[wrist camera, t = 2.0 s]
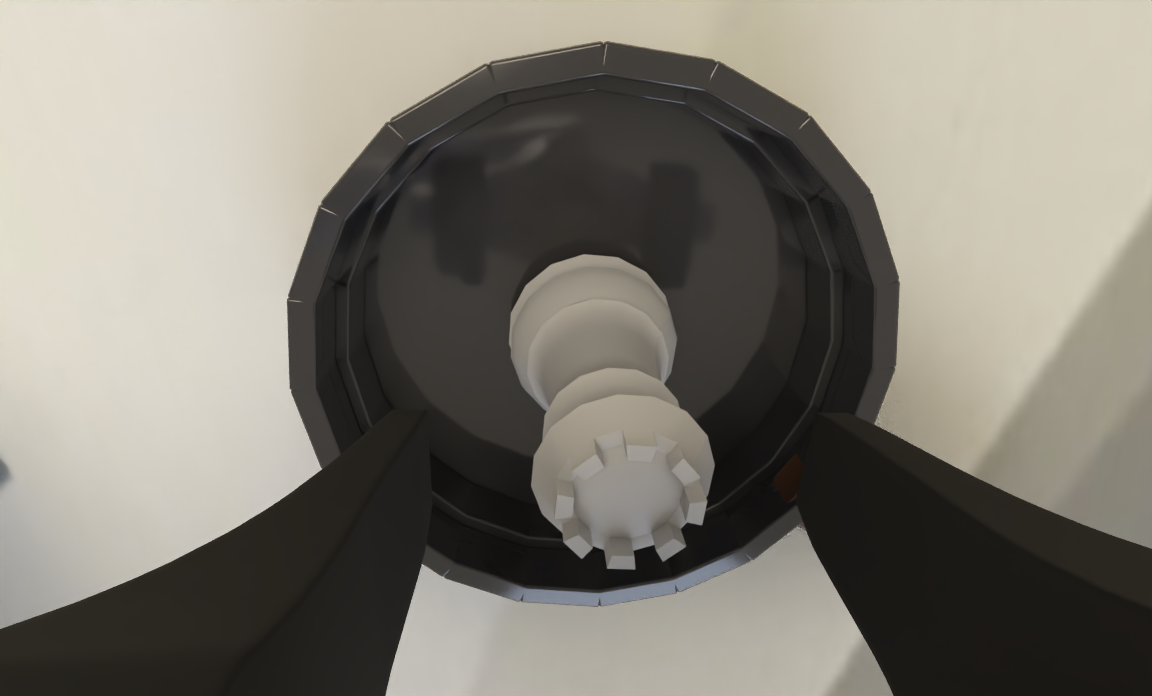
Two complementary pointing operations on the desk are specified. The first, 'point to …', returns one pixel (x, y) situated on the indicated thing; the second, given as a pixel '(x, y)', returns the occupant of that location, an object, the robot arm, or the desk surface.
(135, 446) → the desk surface
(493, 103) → the pan
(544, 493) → the rook chess piece
